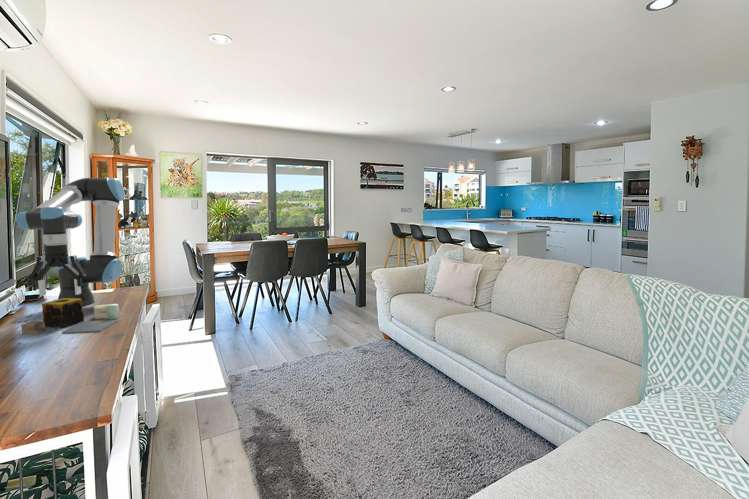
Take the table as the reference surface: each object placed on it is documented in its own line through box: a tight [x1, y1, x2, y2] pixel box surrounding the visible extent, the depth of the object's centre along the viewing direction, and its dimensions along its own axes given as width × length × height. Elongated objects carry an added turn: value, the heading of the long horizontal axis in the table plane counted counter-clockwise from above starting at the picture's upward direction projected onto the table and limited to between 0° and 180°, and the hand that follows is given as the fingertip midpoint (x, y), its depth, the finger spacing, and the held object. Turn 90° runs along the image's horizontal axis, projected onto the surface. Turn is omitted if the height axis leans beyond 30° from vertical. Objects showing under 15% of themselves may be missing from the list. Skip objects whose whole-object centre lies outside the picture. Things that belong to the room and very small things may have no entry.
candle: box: [41, 298, 85, 329], centre depth 171 cm, size 10×10×10 cm
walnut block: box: [20, 320, 46, 336], centre depth 161 cm, size 5×5×4 cm
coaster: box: [61, 319, 119, 334], centre depth 167 cm, size 14×14×1 cm
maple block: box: [93, 303, 109, 320], centre depth 181 cm, size 5×5×5 cm
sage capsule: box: [106, 303, 120, 320], centre depth 178 cm, size 4×4×6 cm
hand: (60, 294), depth 170 cm, fingers open, 13 cm apart
